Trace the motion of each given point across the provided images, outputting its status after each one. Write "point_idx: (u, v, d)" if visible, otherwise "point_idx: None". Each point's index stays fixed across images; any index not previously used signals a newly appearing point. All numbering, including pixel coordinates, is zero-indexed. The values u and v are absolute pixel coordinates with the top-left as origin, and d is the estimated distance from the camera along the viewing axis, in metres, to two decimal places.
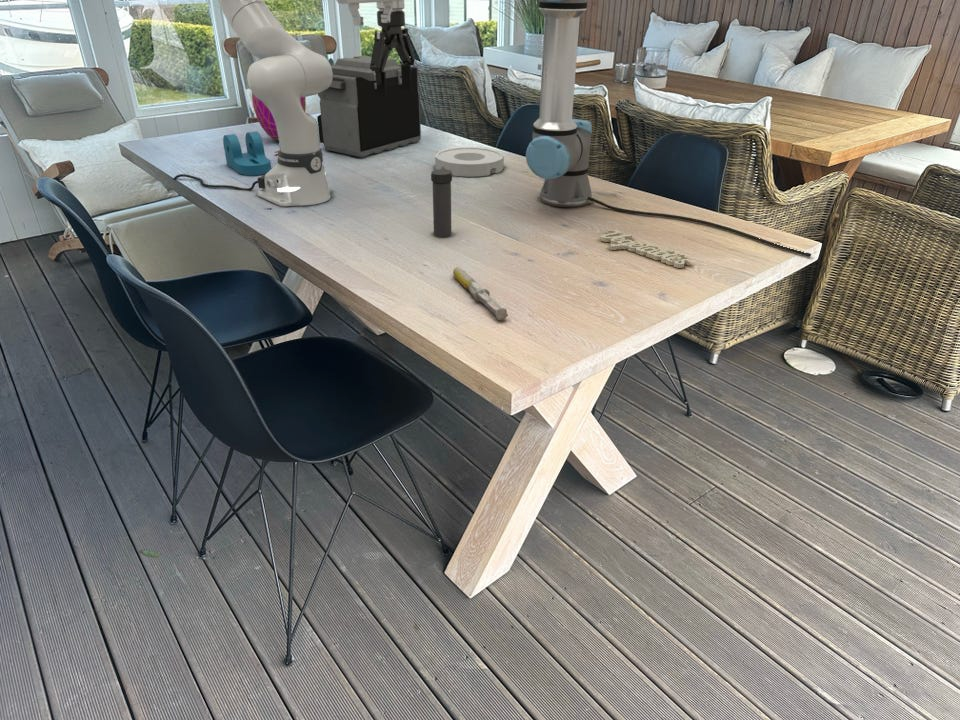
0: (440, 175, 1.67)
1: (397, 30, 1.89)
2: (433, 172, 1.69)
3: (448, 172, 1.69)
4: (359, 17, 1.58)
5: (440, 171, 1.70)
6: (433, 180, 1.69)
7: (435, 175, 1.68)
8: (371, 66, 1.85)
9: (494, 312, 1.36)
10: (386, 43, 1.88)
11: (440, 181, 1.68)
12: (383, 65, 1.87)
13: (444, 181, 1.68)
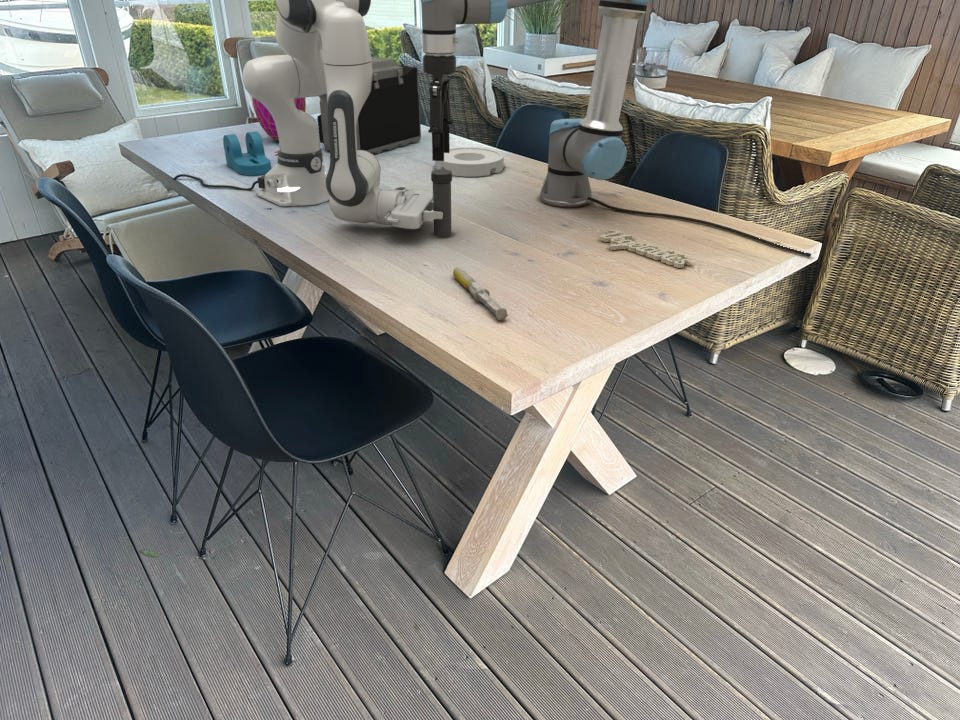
0: (440, 175, 1.67)
1: None
2: (433, 172, 1.69)
3: (448, 172, 1.69)
4: None
5: (440, 171, 1.70)
6: (433, 180, 1.69)
7: (435, 175, 1.68)
8: None
9: (494, 312, 1.36)
10: None
11: (440, 181, 1.68)
12: None
13: (444, 181, 1.68)
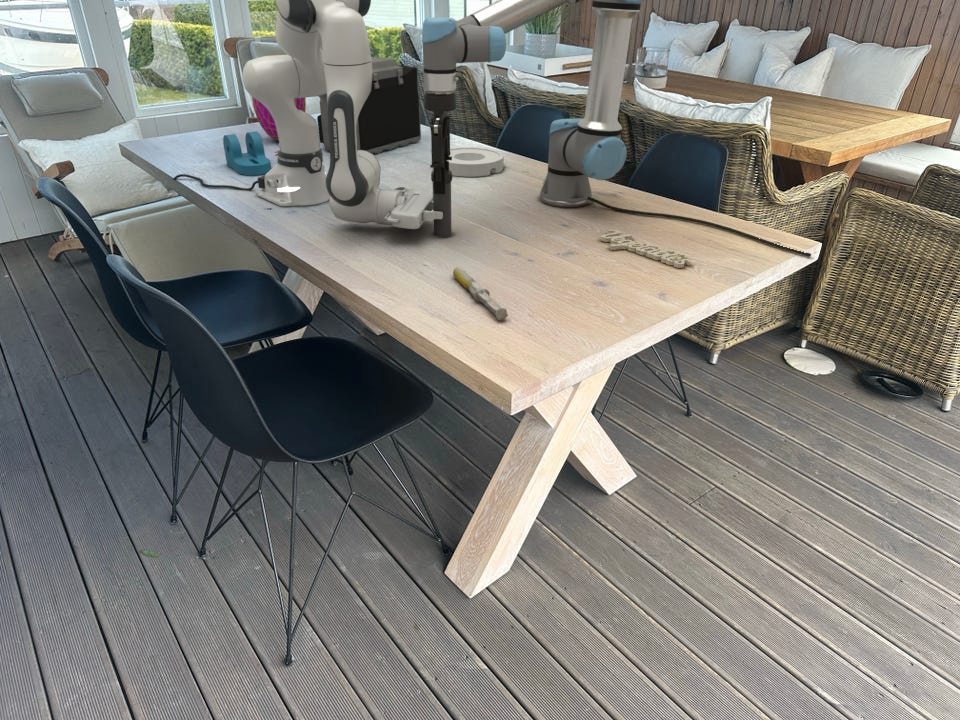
0: None
1: None
2: (433, 172, 1.69)
3: (448, 172, 1.69)
4: None
5: None
6: (433, 180, 1.69)
7: None
8: None
9: (494, 312, 1.36)
10: None
11: None
12: None
13: None
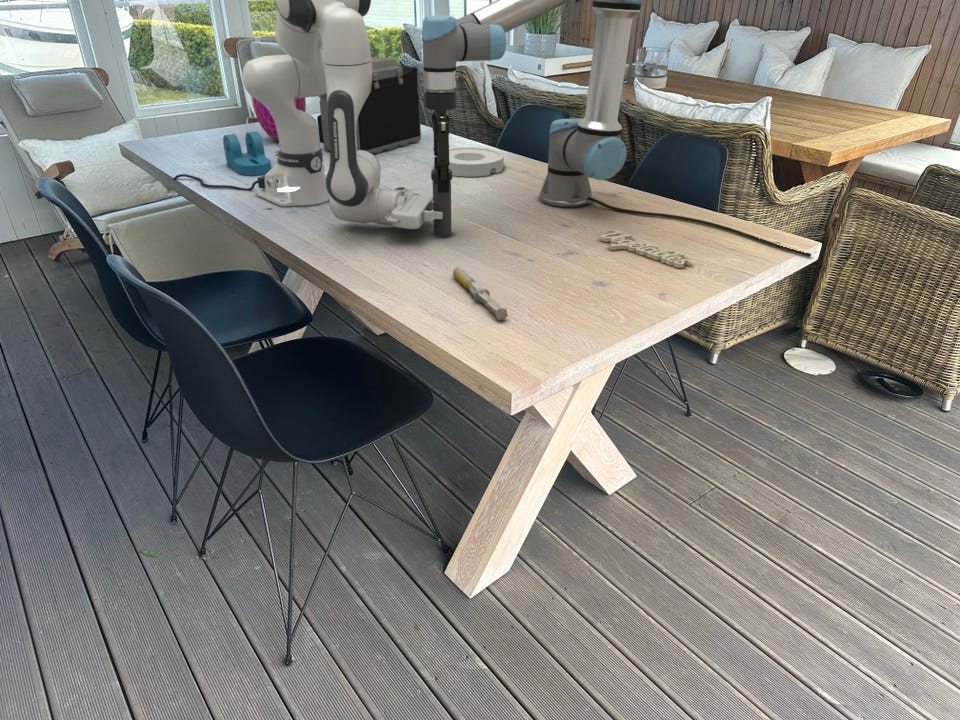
0: None
1: (436, 113, 1.61)
2: None
3: None
4: None
5: None
6: (449, 178, 1.69)
7: (451, 172, 1.69)
8: None
9: (494, 312, 1.36)
10: None
11: None
12: (434, 149, 1.71)
13: None
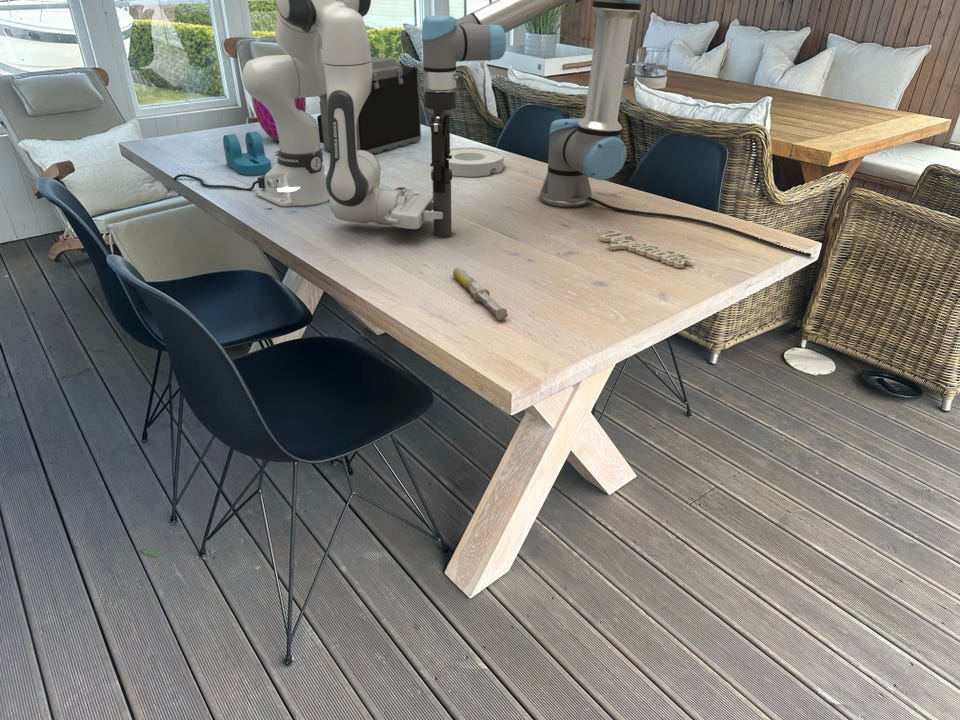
0: None
1: None
2: (445, 172, 1.68)
3: None
4: None
5: None
6: (449, 178, 1.69)
7: (451, 172, 1.69)
8: None
9: (494, 312, 1.36)
10: None
11: None
12: None
13: None
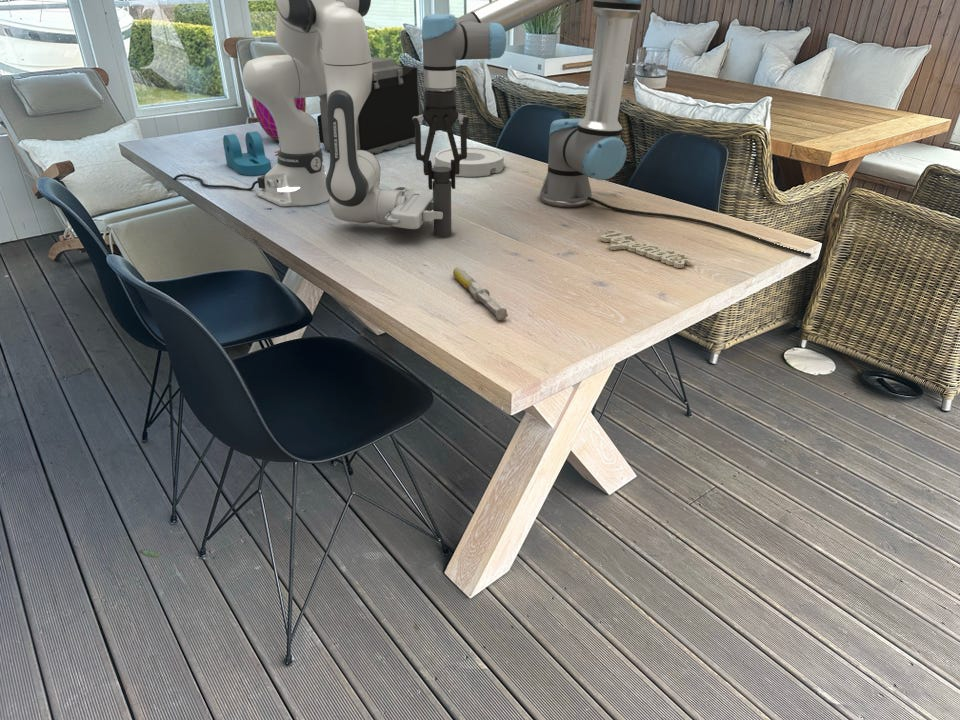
0: None
1: (446, 112, 1.61)
2: (447, 167, 1.70)
3: (434, 169, 1.68)
4: None
5: (443, 169, 1.69)
6: None
7: None
8: None
9: (494, 312, 1.36)
10: (428, 124, 1.63)
11: None
12: (427, 155, 1.65)
13: None
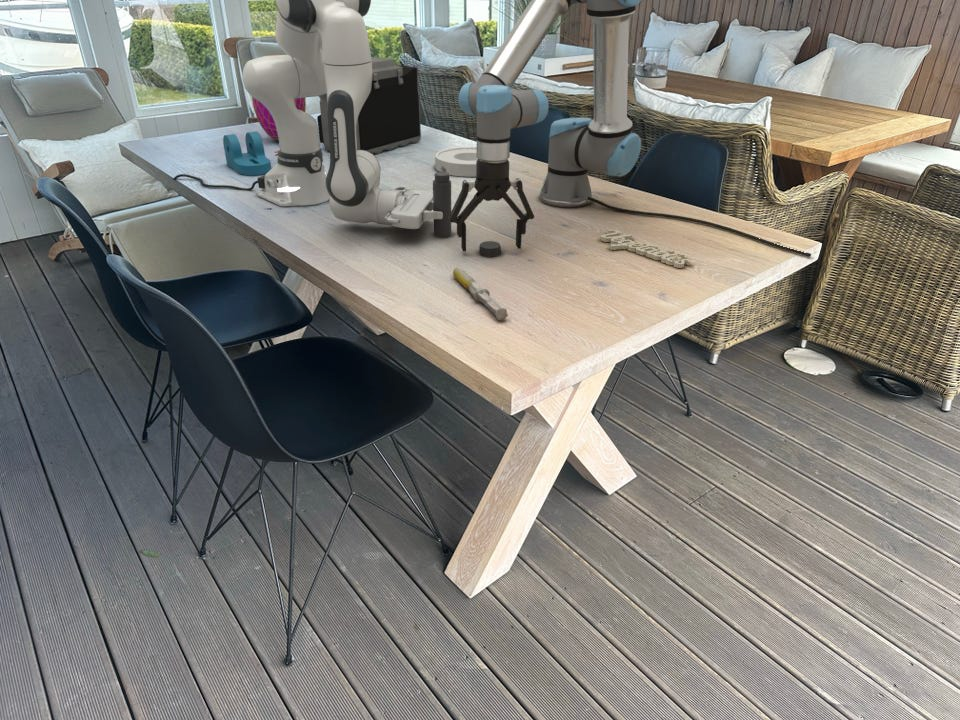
0: None
1: (498, 182, 1.57)
2: (495, 242, 1.67)
3: (483, 245, 1.65)
4: None
5: (492, 245, 1.65)
6: None
7: None
8: (449, 216, 1.61)
9: (494, 312, 1.36)
10: None
11: None
12: (463, 218, 1.60)
13: None
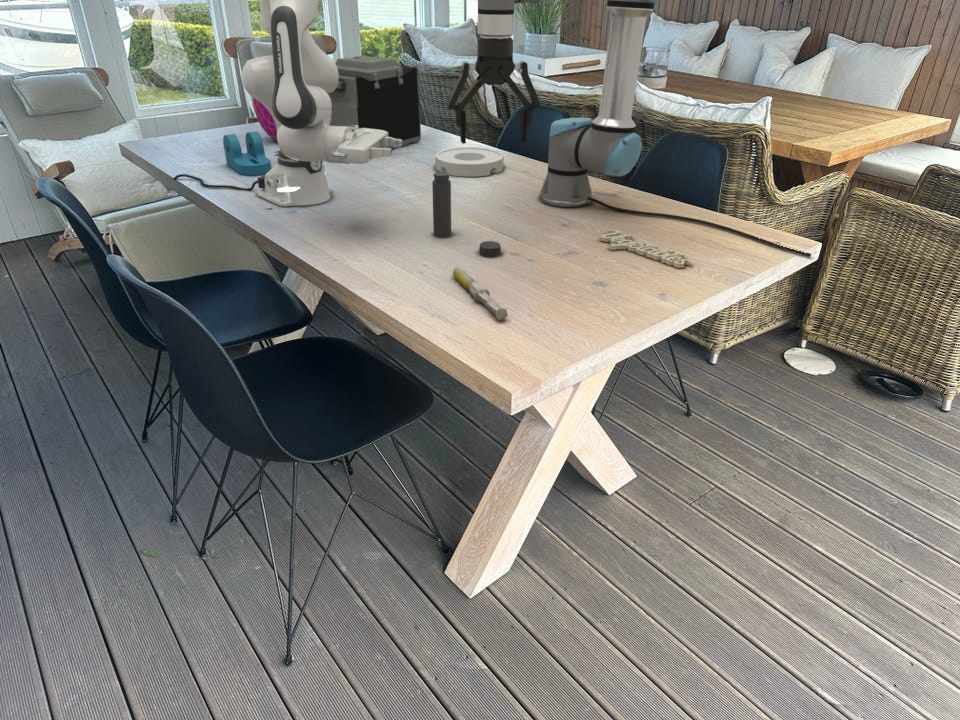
0: None
1: (501, 63, 1.44)
2: (495, 242, 1.67)
3: (483, 245, 1.65)
4: None
5: (492, 245, 1.65)
6: None
7: None
8: (447, 103, 1.48)
9: (494, 312, 1.36)
10: (481, 78, 1.46)
11: None
12: (462, 104, 1.47)
13: None
